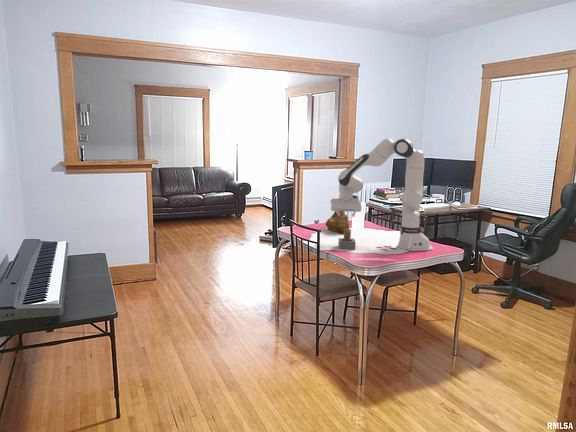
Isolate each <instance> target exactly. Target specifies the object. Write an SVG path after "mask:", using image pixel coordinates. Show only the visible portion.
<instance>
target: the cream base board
mask: <svg viewBox="0 0 576 432" xmlns="http://www.w3.org/2000/svg"><path fill="white" fill-rule="evenodd" d="M338 250H339V251H346V250H345V249H339V248H338ZM354 251H361V252H362V251H364V252H371V251H372V249H371V247H370V246H369V245H355V250H354Z"/></svg>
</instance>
